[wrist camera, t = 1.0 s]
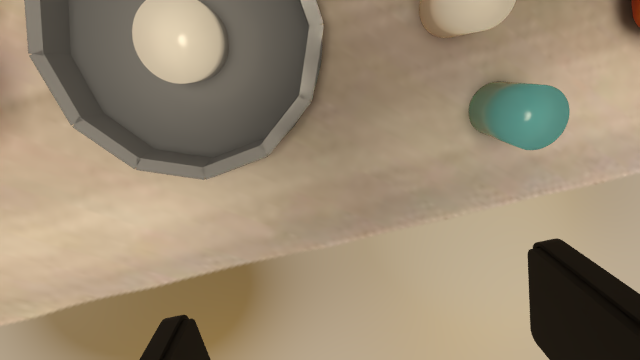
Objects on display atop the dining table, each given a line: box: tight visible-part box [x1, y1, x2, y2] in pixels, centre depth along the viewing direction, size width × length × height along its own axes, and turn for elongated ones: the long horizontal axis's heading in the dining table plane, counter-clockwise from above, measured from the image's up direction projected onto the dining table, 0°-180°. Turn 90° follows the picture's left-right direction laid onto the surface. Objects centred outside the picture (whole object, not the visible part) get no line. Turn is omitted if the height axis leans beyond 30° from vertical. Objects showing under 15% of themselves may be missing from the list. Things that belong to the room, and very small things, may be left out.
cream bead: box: [419, 0, 516, 38], centre depth 26 cm, size 5×5×6 cm
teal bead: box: [469, 81, 569, 150], centre depth 28 cm, size 5×5×6 cm
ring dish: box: [24, 0, 324, 180], centre depth 27 cm, size 21×21×4 cm
